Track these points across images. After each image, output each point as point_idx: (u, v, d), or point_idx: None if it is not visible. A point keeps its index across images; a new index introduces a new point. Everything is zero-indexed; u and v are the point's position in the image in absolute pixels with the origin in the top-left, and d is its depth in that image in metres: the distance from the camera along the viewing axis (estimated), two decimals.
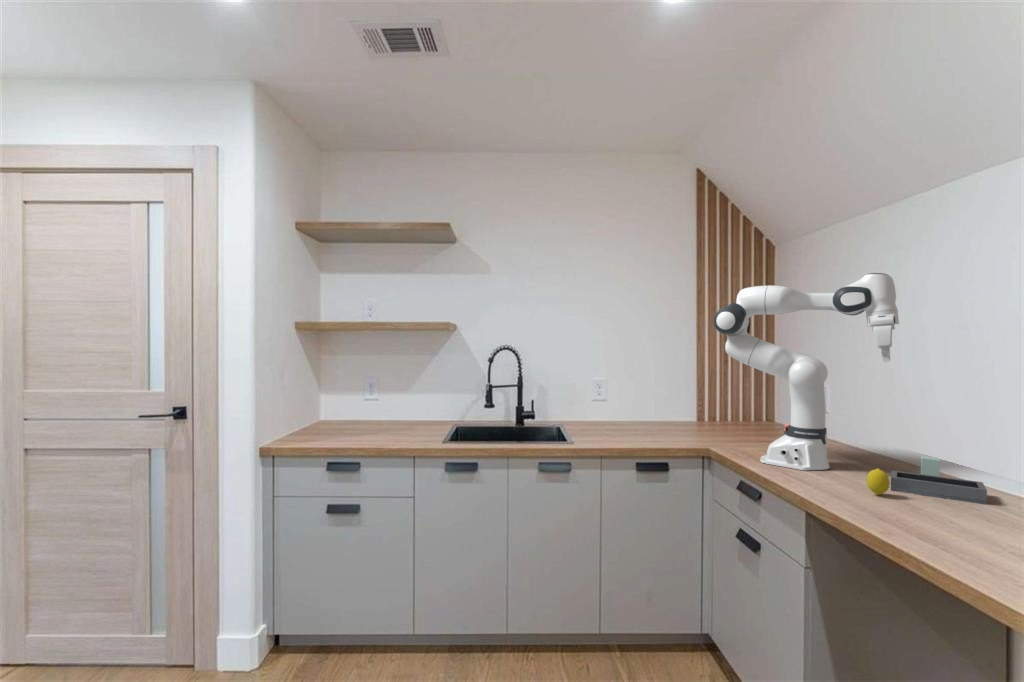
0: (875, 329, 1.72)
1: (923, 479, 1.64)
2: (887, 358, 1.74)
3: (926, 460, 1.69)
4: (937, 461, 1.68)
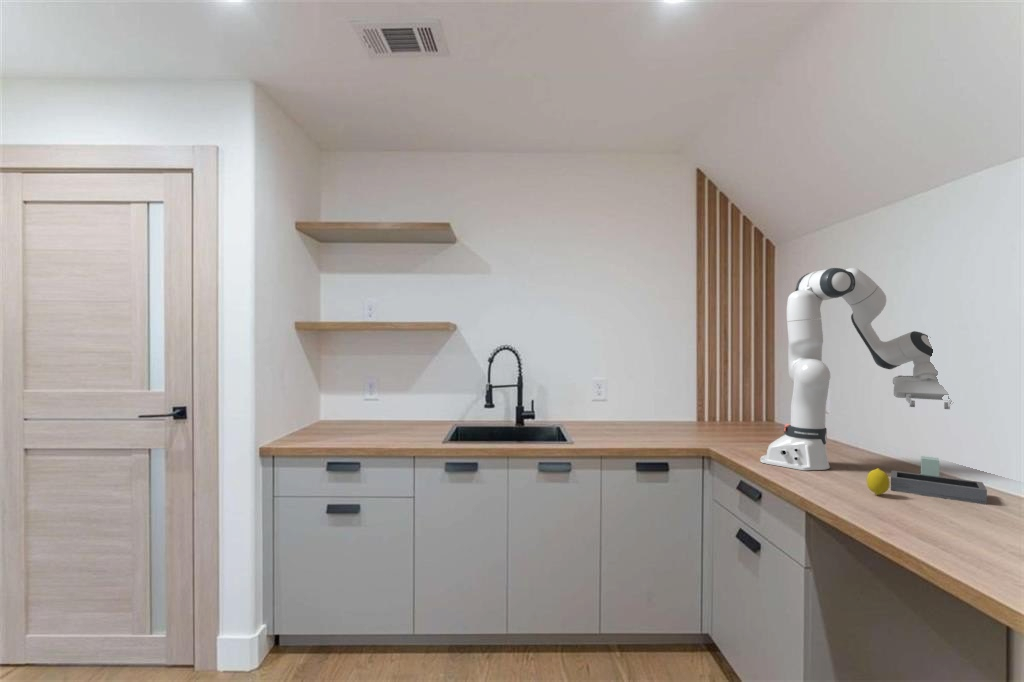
0: None
1: (923, 479, 1.64)
2: (949, 406, 1.79)
3: (926, 460, 1.69)
4: (937, 461, 1.68)
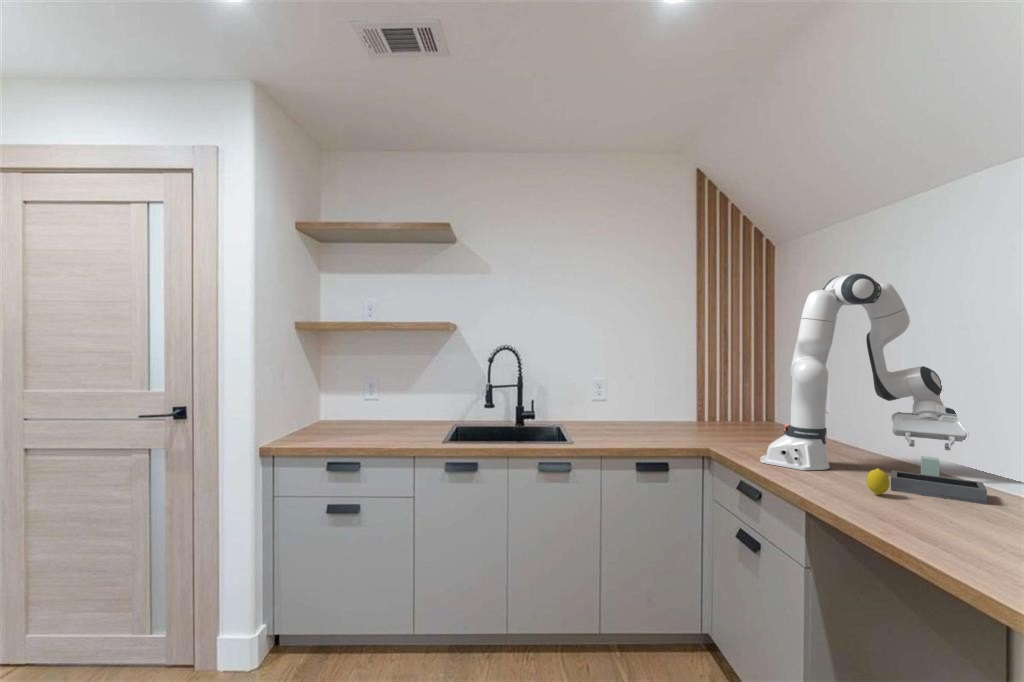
0: None
1: (923, 479, 1.64)
2: None
3: (926, 460, 1.69)
4: (937, 461, 1.68)
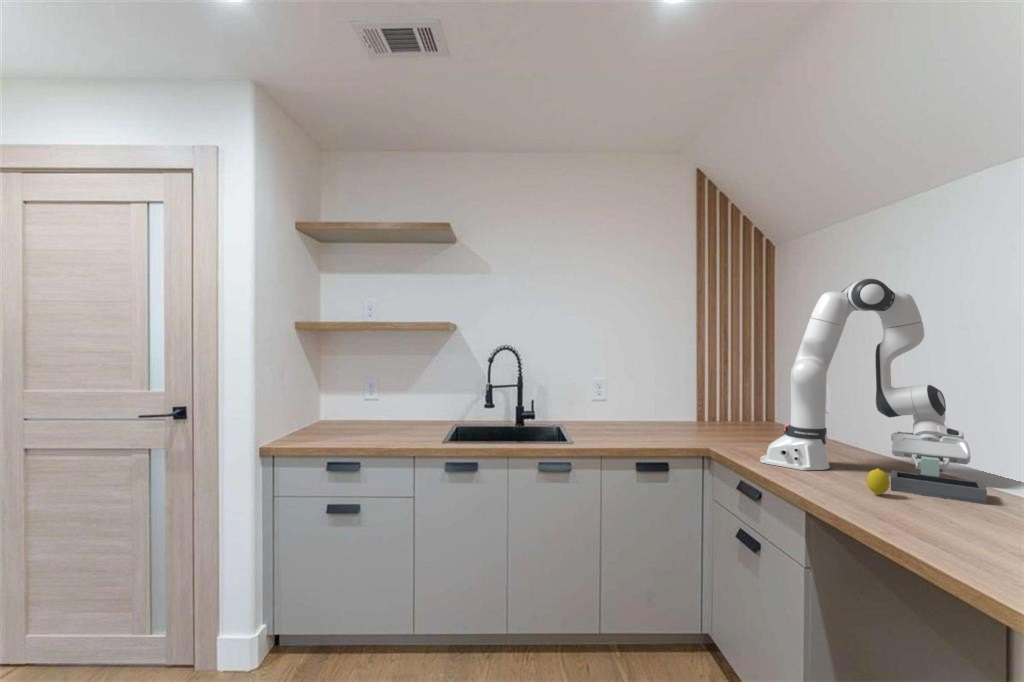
0: None
1: (923, 479, 1.64)
2: (944, 469, 1.69)
3: (926, 460, 1.69)
4: (937, 461, 1.68)
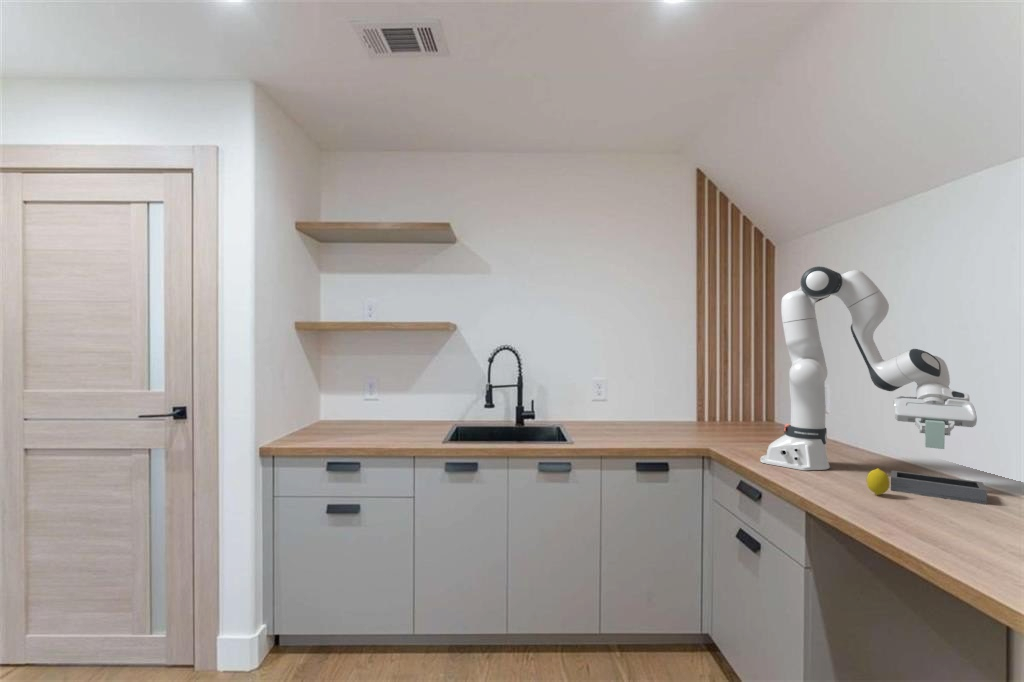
0: None
1: (923, 479, 1.64)
2: None
3: (931, 423, 1.63)
4: (942, 424, 1.61)
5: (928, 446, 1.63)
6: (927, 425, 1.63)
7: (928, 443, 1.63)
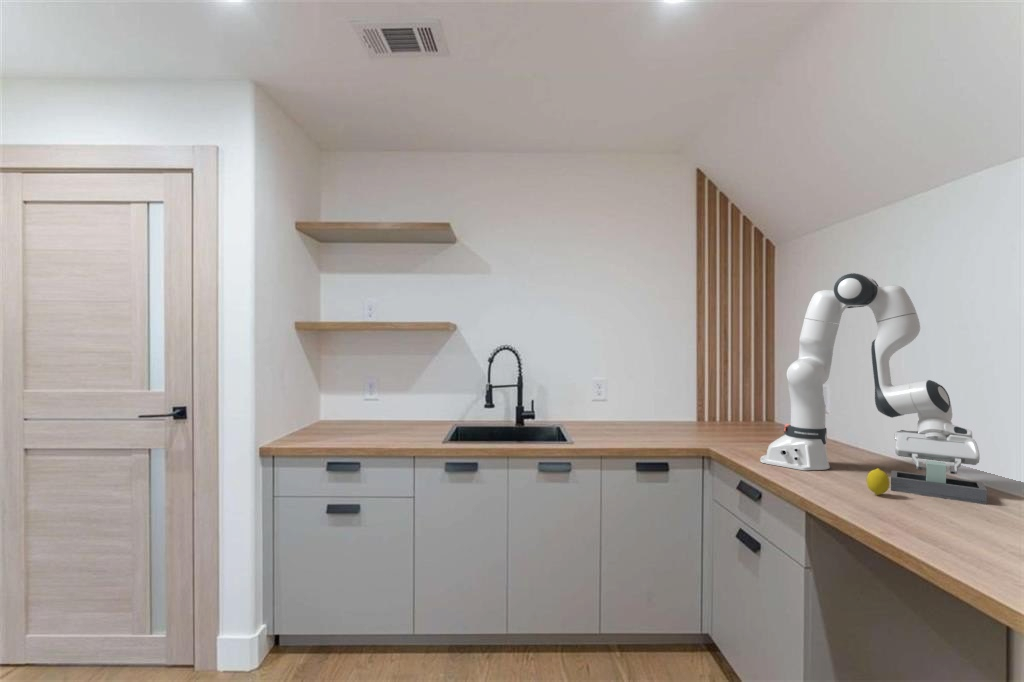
0: None
1: (923, 479, 1.64)
2: (956, 470, 1.57)
3: (932, 465, 1.58)
4: (944, 466, 1.57)
5: None
6: (928, 467, 1.59)
7: None
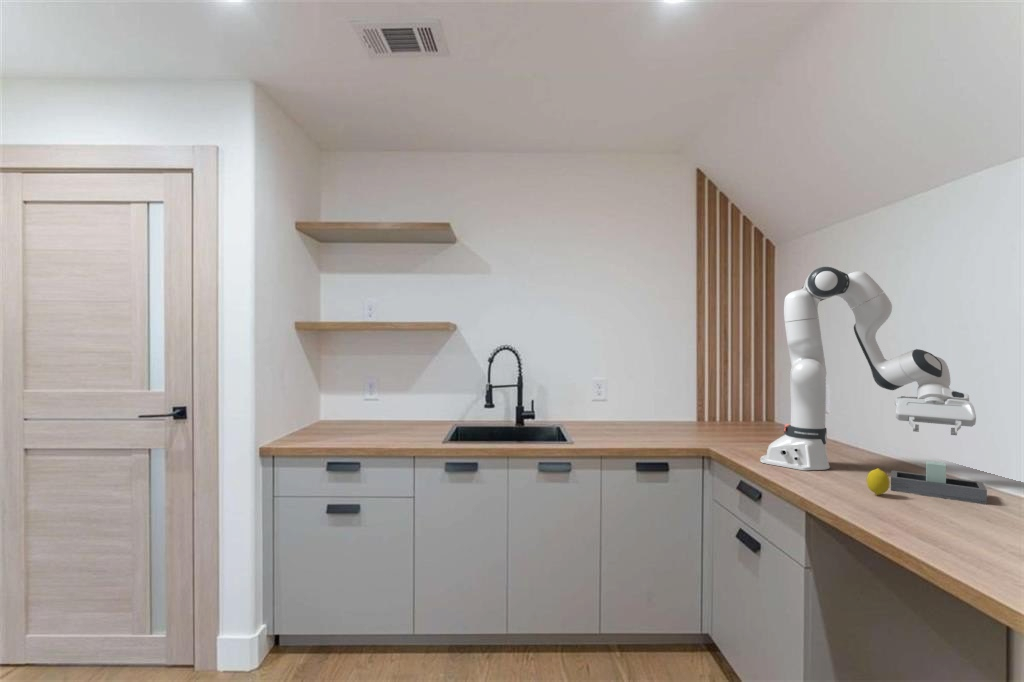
0: None
1: (923, 479, 1.64)
2: (956, 432, 1.65)
3: (932, 465, 1.58)
4: (944, 466, 1.57)
5: None
6: (928, 467, 1.59)
7: None
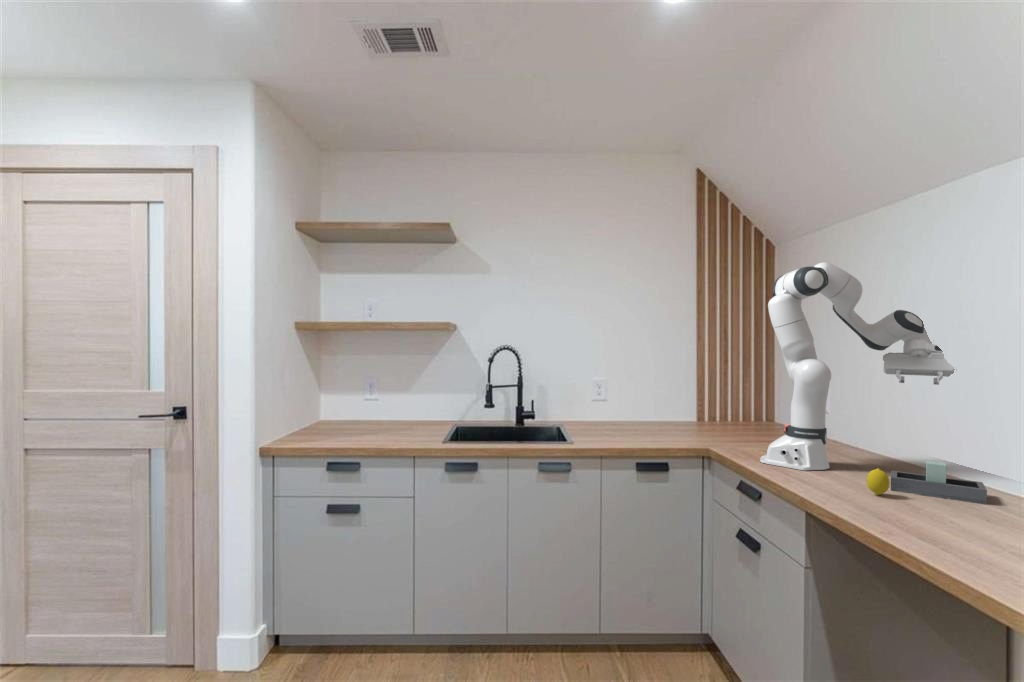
0: None
1: (923, 479, 1.64)
2: None
3: (932, 465, 1.58)
4: (944, 466, 1.57)
5: None
6: (928, 467, 1.59)
7: None
